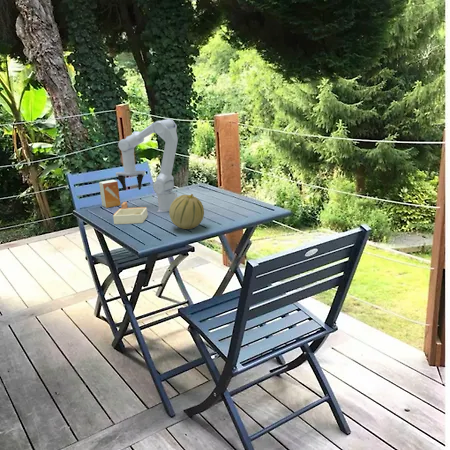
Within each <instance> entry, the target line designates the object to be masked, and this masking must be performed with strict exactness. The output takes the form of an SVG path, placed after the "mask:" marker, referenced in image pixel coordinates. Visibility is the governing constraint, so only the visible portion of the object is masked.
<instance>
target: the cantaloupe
mask: <svg viewBox="0 0 450 450" xmlns="http://www.w3.org/2000/svg"><path fill="white" fill-rule="evenodd" d="M204 209H205V208H204V205H203V203H202V201H201V200H200V199H199V198H198V197H197V196H195V195H194V194H193V193H192V194H182V195H180V196H177V198H176V199H175V200H174V201H173V202H172V204H171V206H170V209H169V211H168V212H169V213H168V215H169V217H170V220H171V223H173V225H175V226H176V227H177V228H180V229H182V230H191V229H194V228H196V227H198V226H199V225H200V224H201V223H202V221H203V219H204V217H205V216H204V215H205V210H204Z"/></svg>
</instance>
